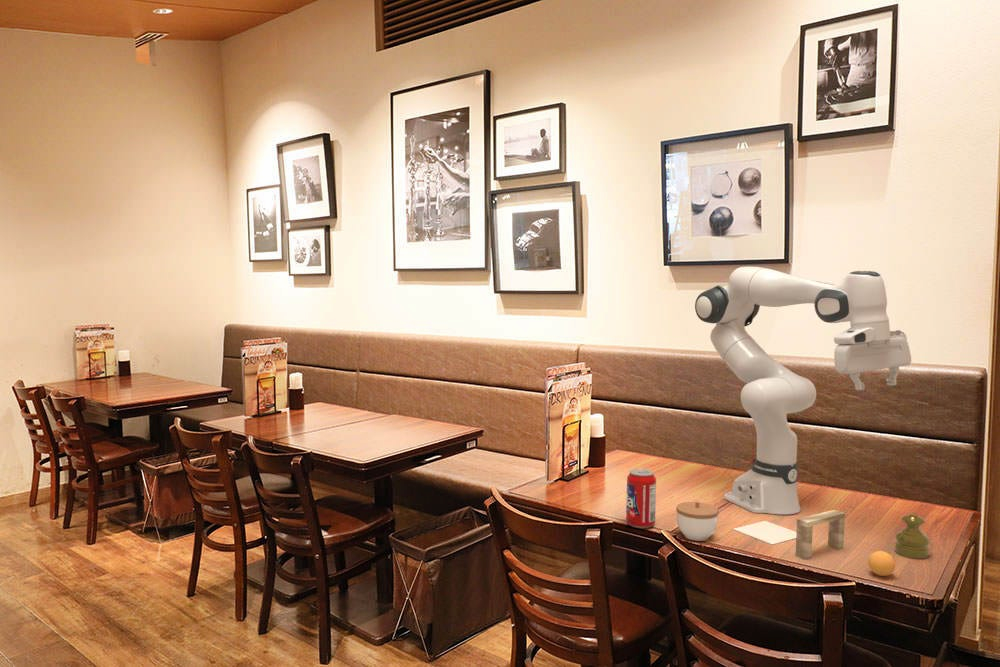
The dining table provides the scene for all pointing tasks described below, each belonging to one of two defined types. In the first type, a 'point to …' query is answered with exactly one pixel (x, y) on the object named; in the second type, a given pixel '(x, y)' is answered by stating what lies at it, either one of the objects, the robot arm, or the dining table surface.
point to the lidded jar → (697, 520)
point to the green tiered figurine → (912, 538)
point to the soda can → (641, 498)
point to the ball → (881, 563)
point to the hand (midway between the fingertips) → (876, 387)
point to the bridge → (806, 531)
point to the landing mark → (767, 532)
